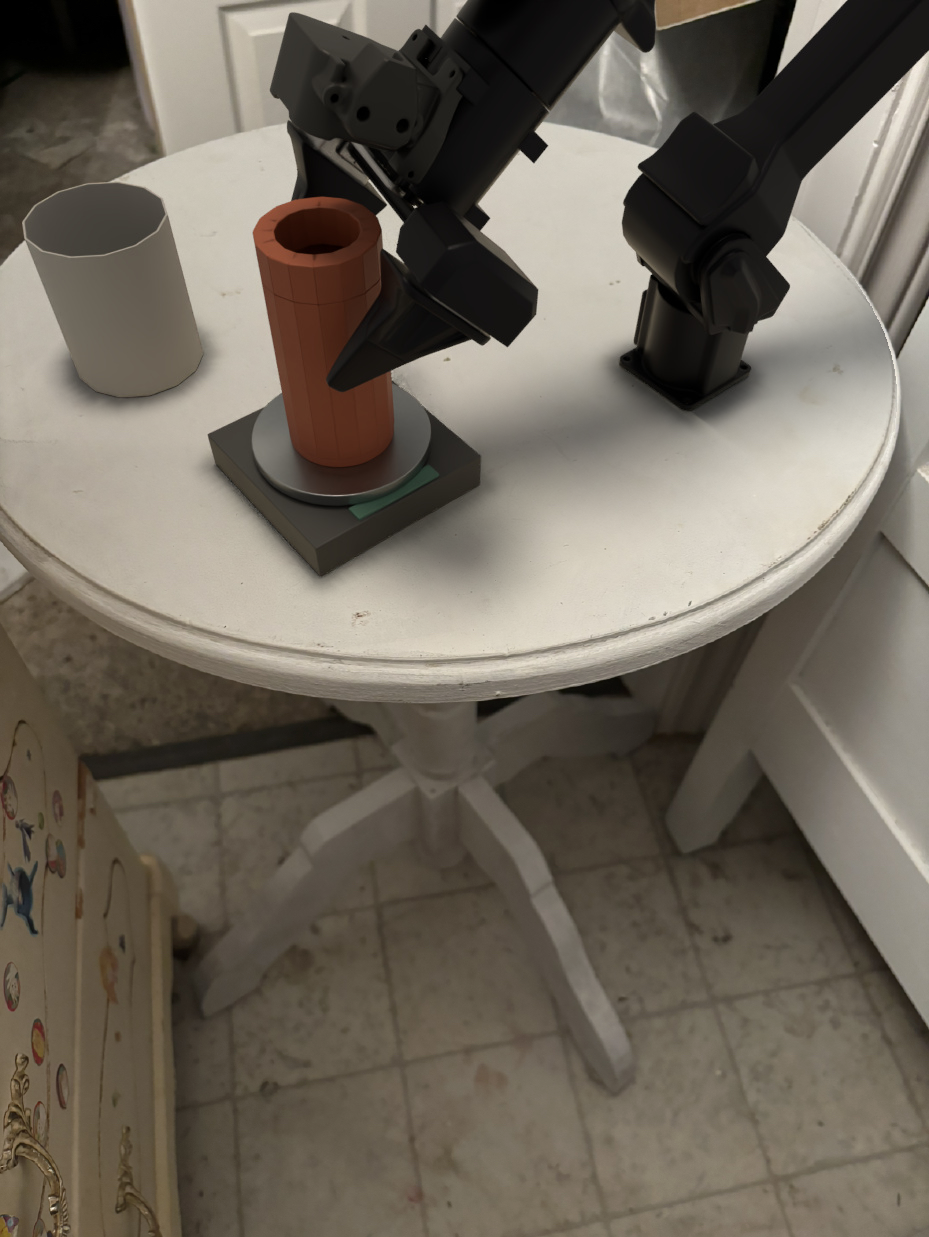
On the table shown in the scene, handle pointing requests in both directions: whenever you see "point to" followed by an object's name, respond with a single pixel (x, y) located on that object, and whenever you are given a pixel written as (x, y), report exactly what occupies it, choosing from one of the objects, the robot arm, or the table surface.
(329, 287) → the jar
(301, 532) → the scale
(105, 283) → the cup
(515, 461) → the table surface
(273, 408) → the scale pan
